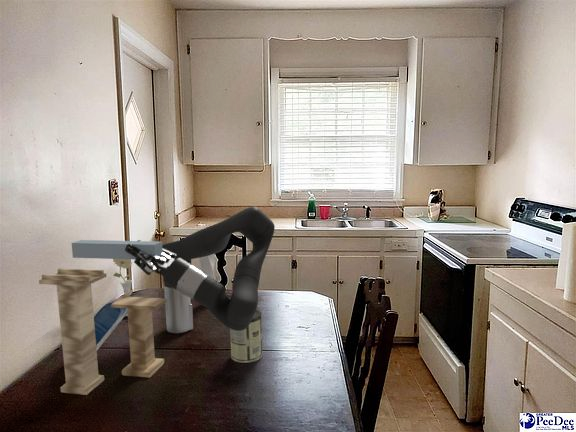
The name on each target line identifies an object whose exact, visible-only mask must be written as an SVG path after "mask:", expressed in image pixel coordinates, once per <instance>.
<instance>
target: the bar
mask: <svg viewBox="0 0 576 432" xmlns="http://www.w3.org/2000/svg"><path fill="white" fill-rule="evenodd" d="M127 244H132V245H133V246H135V247H137V248H138V249H140V250H141V251H143V252H145V253H147V254H152V255H153V256H158V257H161V253H163V250H162V245H163V242H162V241H150V240H149V241H146V240H145V241H143V240H141V241H138V240H95V239H93V240H92V239H81V240H77V241H73V242H71V251H72V258H74V259H101V260H102V259H103V260H104V259H106V260H107V259H109V260H113V259H130V260H134V261H135V259H136V257H134V256H132V255H131V254H129V253H128V252H126V251H125V248H126V246H127ZM144 257H145V256H144ZM145 258H147V257H145ZM151 259H152V258H150V259H149V261H151Z"/></svg>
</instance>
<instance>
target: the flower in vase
mask: <svg viewBox="0 0 576 432" xmlns="http://www.w3.org/2000/svg"><path fill="white" fill-rule="evenodd" d="M112 262H114V265H116V266H117V267H119V273H118V272H115V273H114V274H113V277H117V278H122V280H121V281H119V284H120V285H121V287H122V288H123V294H124V295H125V294H126V293H128V292H130V291H131V285H132V283H133V280H132V279H127V278H129V277H130V276H131V273H129V274H127V275H126V276H125V277H123V275H122V272H121V271H122V269H129V268H132V267H133V266H132V265H133V262H132V260H131V259H112ZM124 295H123V296H124ZM124 317H128V313H127V314H126V315H125V316H124Z"/></svg>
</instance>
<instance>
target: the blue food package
mask: <svg viewBox="0 0 576 432" xmlns="http://www.w3.org/2000/svg"><path fill="white" fill-rule="evenodd" d="M136 289H137V288H136V287H135V288H134V289H130V292H128V293H126V294H125V295H121V296H118V297H116V298H114V299H112V300H110V301H109V302H108V303H106V304H104V305H103V306H102V307H100V309H99V311H97V313H96V314H95V315H94V326H95V338H96V350H97V351H98V350H99V349H100V348H101V346H102V345H103V344H104V343H105V341H106V340H107V339H108V338H109V336H110V335H111V334H112V333H113V331H114V330H115V329H116V328H117V327H118V325H119V324H120V322H122V320H123V319H124V318H125V317H126V316H125V315H126V314H127V308H114V307H111V304H112V303H114V302H116V301H117V300H119V299H121V298H123V297H124V296H126V297H132V294H133V292H134V291H135V290H136Z"/></svg>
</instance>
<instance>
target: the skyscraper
mask: <svg viewBox="0 0 576 432" xmlns="http://www.w3.org/2000/svg"><path fill="white" fill-rule="evenodd" d="M215 255H216V253H215V254H212V255H209V256H205V257H201V258H198V263H199V269H200V270H201V271H203V272H204V273H205V274H206V275H208V276H209V277H211V278H213V279H214V280H216V281H218V282H219V276H218V272H217V273H216V279H215V273H214V272H215V271H214V268H215V260H216V259H215V258H216V256H215ZM201 306H203V305H201ZM203 307H204V306H203Z"/></svg>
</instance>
